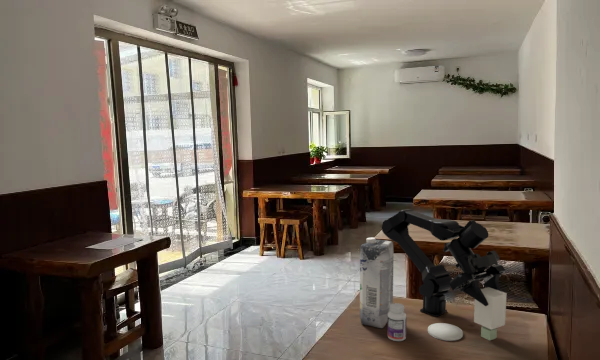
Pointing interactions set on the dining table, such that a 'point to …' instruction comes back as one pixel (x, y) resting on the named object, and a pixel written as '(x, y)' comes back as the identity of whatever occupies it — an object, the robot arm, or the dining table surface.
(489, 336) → the block
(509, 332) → the dining table surface
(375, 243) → the juice carton
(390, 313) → the pill bottle
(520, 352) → the dining table surface
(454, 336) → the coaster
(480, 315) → the cover
